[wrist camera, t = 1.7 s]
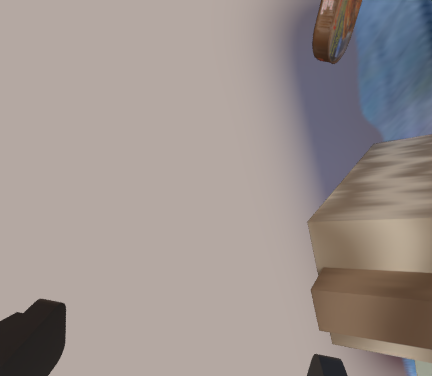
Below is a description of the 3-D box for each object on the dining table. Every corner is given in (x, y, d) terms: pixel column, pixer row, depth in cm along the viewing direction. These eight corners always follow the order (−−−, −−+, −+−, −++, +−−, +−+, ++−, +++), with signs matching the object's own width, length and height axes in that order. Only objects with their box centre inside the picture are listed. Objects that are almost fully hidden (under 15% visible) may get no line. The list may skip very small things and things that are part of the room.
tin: (342, 65, 47) (327, 63, 40) (321, 61, 48) (304, 59, 42) (380, -59, 40) (370, -85, 34) (355, -59, 42) (341, -84, 35)
